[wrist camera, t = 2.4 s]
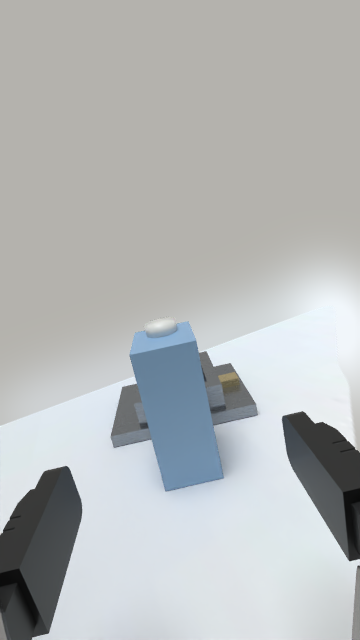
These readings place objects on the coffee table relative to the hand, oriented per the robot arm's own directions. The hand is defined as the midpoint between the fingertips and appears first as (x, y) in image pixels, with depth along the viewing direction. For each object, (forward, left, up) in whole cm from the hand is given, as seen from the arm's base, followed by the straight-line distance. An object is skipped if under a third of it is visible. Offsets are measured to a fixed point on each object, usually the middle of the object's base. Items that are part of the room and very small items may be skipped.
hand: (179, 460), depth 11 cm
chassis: (0, +20, -10) cm, 23 cm away
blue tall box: (0, +11, -10) cm, 15 cm away
